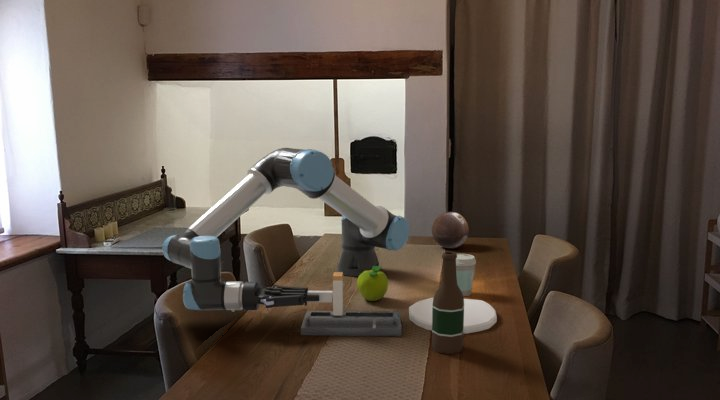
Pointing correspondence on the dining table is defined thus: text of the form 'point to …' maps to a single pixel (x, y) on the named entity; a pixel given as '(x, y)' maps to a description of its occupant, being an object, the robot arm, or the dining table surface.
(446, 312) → the beer bottle
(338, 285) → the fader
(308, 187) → the robot arm
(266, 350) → the dining table surface
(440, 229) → the wooden sphere
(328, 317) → the fader console
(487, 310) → the decorative plate
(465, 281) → the coffee cup
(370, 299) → the fruit
